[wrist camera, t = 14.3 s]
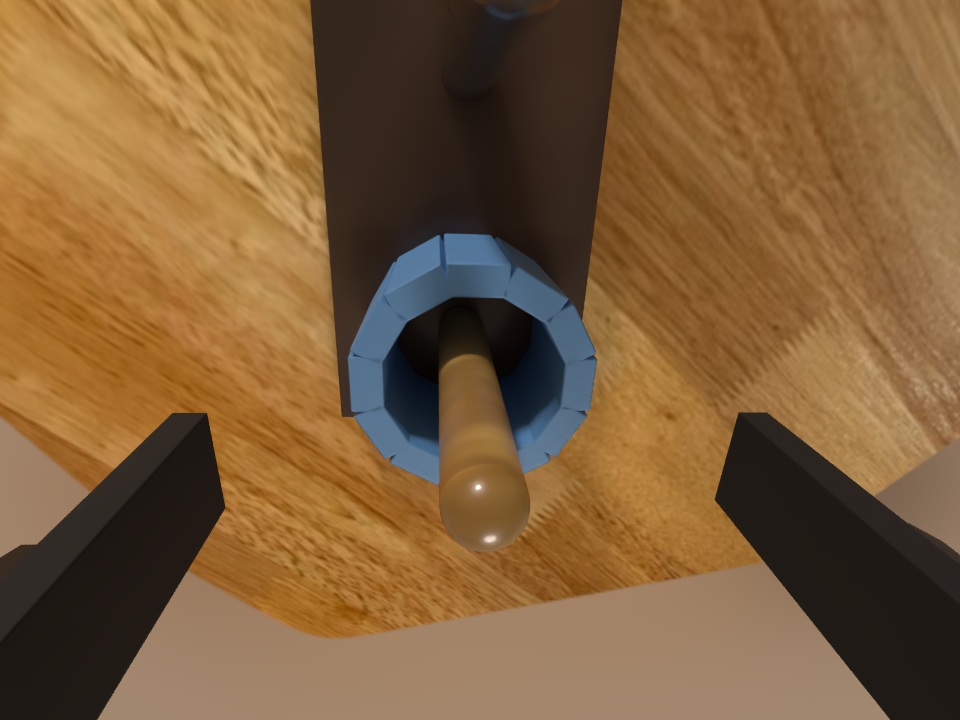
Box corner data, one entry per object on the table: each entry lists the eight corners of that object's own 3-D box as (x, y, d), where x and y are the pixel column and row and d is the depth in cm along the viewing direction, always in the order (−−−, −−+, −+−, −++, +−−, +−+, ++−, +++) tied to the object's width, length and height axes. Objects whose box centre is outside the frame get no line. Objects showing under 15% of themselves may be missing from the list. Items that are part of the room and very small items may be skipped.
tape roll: (565, 236, 21) (611, 266, 15) (546, 408, 24) (580, 485, 18) (367, 231, 20) (340, 259, 14) (375, 409, 23) (356, 488, 18)
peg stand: (616, -53, 18) (1104, -620, 5) (563, 402, 25) (701, 673, 12) (313, -79, 17) (-109, -875, 4) (347, 402, 25) (239, 697, 11)
